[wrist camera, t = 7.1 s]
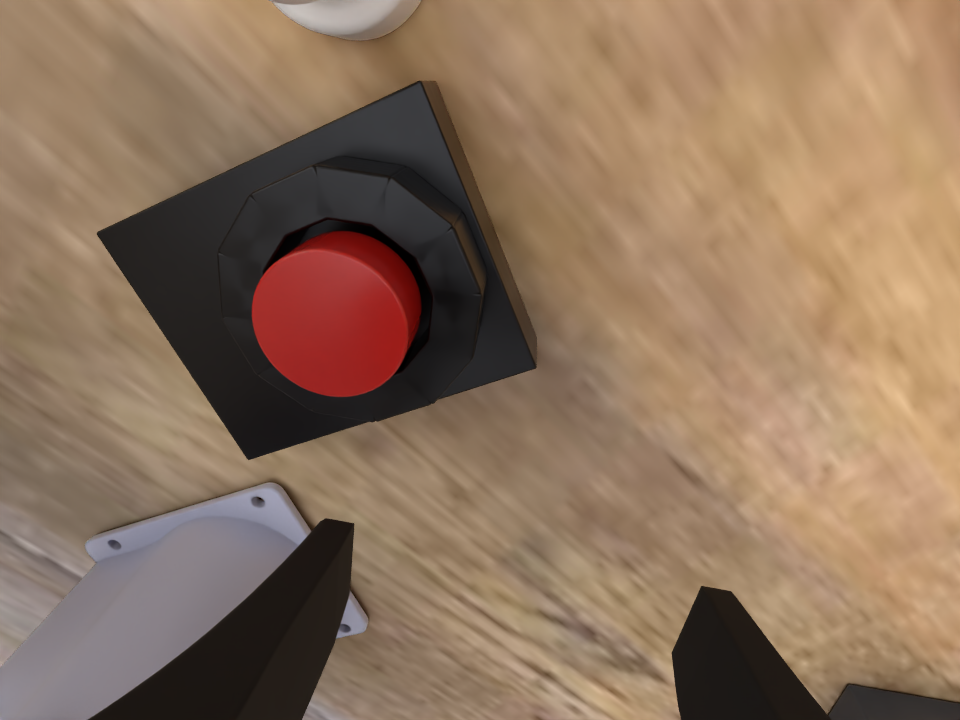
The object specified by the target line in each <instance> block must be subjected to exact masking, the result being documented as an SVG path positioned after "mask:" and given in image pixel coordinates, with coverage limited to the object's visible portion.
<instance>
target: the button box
mask: <svg viewBox="0 0 960 720" xmlns="http://www.w3.org/2000/svg"><path fill="white" fill-rule="evenodd" d="M333 231H350V232H356V233H361V234H364V235H367V236H370V237H373V238H375V239H377V240H379V241H381V242H382V243H384V244H385V245H387V246H388V247H390V248H391V249H392V250H393V251H394V252H396V253H397V254H398V255H399V256H400V257H401V258H402V259H403V261H404V262H405V263H406V264H407V266H408V267H409V269H410V270H411V272H412V274H413V276H414V278H415V280H416V282H417V285H418V288H419V292H420V296H421V304H422V312H421V320H420V324H419V327H418V331H417V333H416V335H415V337H414V339H413V341H412V343H411V345H410V347H409V349H408V351H407V353H406V355H405V357H404V359H403V361H402V363H401V365H400V367H399V368H398V370H397V371H396V373H395V374H394V375H393V376H392V377H391V378H390V379H389V380H388V381H387V382H385V383H384V384H383V385H381V386H380V387H378V388H376V389H374V390H372V391H369V392H367V393H364V394H360V395H356V396H349V397H333V396H326V395H322V394H317V393H314V392H312V391H309V390H307V389H304V388H302V387H300V386H298V385H297V384H295V383H293V382H292V381H290V380H289V379H288V378H286V377H285V376H284V375H282V374H281V373H280V372H279V371H278V370H277V369H276V368H275V367H274V366H273V365H272V363H271V362H270V361H269V360H268V358H267V357H266V355H265V354H264V352H263V351H262V349H261V347H260V345H259V343H258V340H257V338H256V335H255V332H254V327H253V322H252V302H253V296H254V293H255V290H256V287H257V285H258V283H259V281H260V279H261V277H262V276H263V274H264V273H265V272H266V270H267V269H268V268H269V267H270V266H271V265H272V264H273V263H275V262H276V261H278V260H279V259H280V258H282V257H283V256H285V255H286V254H288V253H289V252H291V251H292V250H294V249H295V248H297V247H298V246H300V245H301V244H303V243H304V242H306V241H307V240H309V239H311V238H313V237H315V236H317V235H320V234H323V233H327V232H333ZM97 235H98V237H99V238H100V240H101V241H102V243H103V244H104V246H105V247H106V249H107V250H108V252H109V253H110V255H111V256H112V258H113V259H114V261H115V262H116V264H117V265H118V267H119V268H120V270H121V271H122V273H123V274H124V276H125V277H126V279H127V280H128V282H129V283H130V285H131V286H132V288H133V289H134V291H135V292H136V294H137V295H138V297H139V298H140V299H141V301H142V302H143V304H144V305H145V307H146V308H147V310H148V311H149V313H150V314H151V316H152V317H153V319H154V320H155V322H156V323H157V325H158V326H159V328H160V329H161V331H162V332H163V334H164V335H165V337H166V338H167V340H168V341H169V343H170V344H171V346H172V347H173V349H174V350H175V352H176V353H177V355H178V356H179V358H180V359H181V361H182V362H183V364H184V365H185V367H186V368H187V370H188V371H189V373H190V374H191V376H192V377H193V379H194V380H195V382H196V383H197V385H198V386H199V388H200V389H201V391H202V392H203V394H204V395H205V397H206V398H207V400H208V401H209V403H210V404H211V406H212V407H213V409H214V410H215V412H216V413H217V414H218V416H219V417H220V419H221V420H222V422H223V423H224V425H225V426H226V428H227V429H228V431H229V432H230V434H231V435H232V437H233V438H234V440H235V441H236V443H237V444H238V446H239V447H240V449H241V450H242V452H243V453H244V455H245V456H246V458H247V459H248V460H250V459H253V458H257V457H260V456H263V455H266V454H269V453H272V452H275V451H278V450H282V449H285V448H288V447H291V446H294V445H297V444H300V443H304V442H307V441H310V440H313V439H316V438H319V437H322V436H325V435H329V434H332V433H335V432H338V431H341V430H344V429H347V428H351V427H354V426H357V425H360V424H363V423H366V422H375V421H381V420H384V419H387V418H390V417H393V416H396V415H399V414H403V413H406V412H409V411H412V410H415V409H418V408H422V407H425V406H428V405H430V404H433V403H435V402H436V401H437V400H438V399H441V398H445V397H448V396H451V395H454V394H457V393H460V392H463V391H467V390H470V389H473V388H476V387H479V386H482V385H485V384H488V383H492V382H495V381H498V380H501V379H504V378H507V377H510V376H514V375H517V374H520V373H523V372H526V371H529V370H532V369H535V368H536V367H537V337H536V334H535V332H534V329H533V327H532V324H531V321H530V319H529V316H528V314H527V311H526V309H525V306H524V304H523V301H522V299H521V296H520V294H519V291H518V288H517V286H516V283H515V281H514V278H513V276H512V273H511V271H510V268H509V266H508V263H507V261H506V258H505V255H504V253H503V250H502V248H501V245H500V243H499V240H498V238H497V235H496V233H495V230H494V228H493V225H492V222H491V220H490V217H489V215H488V212H487V210H486V207H485V205H484V202H483V200H482V197H481V195H480V192H479V189H478V187H477V184H476V182H475V179H474V177H473V174H472V172H471V169H470V167H469V164H468V162H467V159H466V156H465V154H464V151H463V149H462V146H461V144H460V141H459V139H458V136H457V134H456V131H455V129H454V126H453V123H452V121H451V118H450V116H449V113H448V111H447V108H446V106H445V103H444V101H443V98H442V96H441V93H440V90H439V88H438V85H437V83H436V82H435V81H417V82H415V83H413V84H411V85H409V86H407V87H405V88H402V89H400V90H398V91H396V92H394V93H392V94H390V95H388V96H385V97H383V98H381V99H379V100H377V101H375V102H373V103H371V104H368V105H366V106H364V107H362V108H360V109H358V110H356V111H353V112H351V113H349V114H347V115H345V116H343V117H341V118H339V119H336V120H334V121H332V122H330V123H328V124H326V125H324V126H322V127H319V128H317V129H315V130H313V131H311V132H309V133H307V134H305V135H302V136H300V137H298V138H296V139H294V140H292V141H290V142H288V143H285V144H283V145H281V146H279V147H277V148H275V149H273V150H271V151H268V152H266V153H264V154H262V155H260V156H258V157H256V158H254V159H251V160H249V161H247V162H245V163H243V164H241V165H239V166H236V167H234V168H232V169H230V170H228V171H226V172H224V173H222V174H219V175H217V176H215V177H213V178H211V179H209V180H207V181H205V182H202V183H200V184H198V185H196V186H194V187H192V188H190V189H188V190H185V191H183V192H181V193H179V194H177V195H175V196H173V197H171V198H168V199H166V200H164V201H162V202H160V203H158V204H156V205H154V206H151V207H149V208H147V209H145V210H143V211H141V212H139V213H136V214H134V215H132V216H130V217H128V218H126V219H124V220H122V221H119V222H117V223H115V224H113V225H111V226H109V227H107V228H105V229H102V230H100V231H98V232H97Z"/></svg>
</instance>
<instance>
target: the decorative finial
mask: <svg viewBox="0 0 960 720" xmlns="http://www.w3.org/2000/svg"><path fill="white" fill-rule="evenodd" d="M269 1H272V3H273V4H274V5H275V6H276V7H277V8H278V9H279V10H280V11H281V12H282V13H284V14H285V15H286V16H287V17H289V18H290V19H291V20H293V21H294V22H296V23H297V24H299V25H301V26H303V27H305V28H307V29H309V30H312V31H315V32H317V33H321V34H325V35H330V36H334V37H338V38H342V39H347V40H356V41H363V40H371V39H376V38H379V37H382V36H384V35H387V34H389V33H391V32H392V31H394V30H395V29H397V28H398V27H400V26H401V25H402V24H403V23H404V22H406V21H407V19H408V18H409V17H410V16H411V15H412V14H413V13H414V11H415V10H416V8H417V7H418V5H419V4H420V2H421V0H269Z"/></svg>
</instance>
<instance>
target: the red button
mask: <svg viewBox="0 0 960 720" xmlns="http://www.w3.org/2000/svg"><path fill="white" fill-rule="evenodd" d="M421 312H422V304H421V296H420V292H419V288H418V285H417V282H416V280H415V278H414V276H413V274H412V272H411V270H410V269H409V267H408V266H407V264H406V263H405V262H404V261H403V259H402V258H401V257H400V256H399V255H398V254H397V253H396V252H394V251H393V250H392V249H391V248H390V247H388V246H387V245H385V244H384V243H382V242H381V241H379V240H377V239H375V238H373V237H370V236H367V235H364V234H361V233H356V232H350V231H333V232H327V233H323V234H320V235H317V236H315V237H313V238H311V239H309V240H307V241H306V242H304V243H303V244H301V245H300V246H298V247H297V248H295V249H294V250H292V251H291V252H289V253H288V254H286V255H285V256H283V257H282V258H280V259H279V260H278V261H276V262H275V263H273V264H272V265H271V266H270V267H269V268H268V269H267V270H266V272H265V273H264V274H263V276H262V277H261V279H260V281H259V283H258V285H257V287H256V290H255V293H254V296H253V302H252V322H253V327H254V332H255V335H256V338H257V340H258V343H259V345H260V347H261V349H262V351H263V352H264V354H265V355H266V357H267V358H268V360H269V361H270V362H271V363H272V365H273V366H274V367H275V368H276V369H277V370H278V371H279V372H280V373H281V374H282V375H284V376H285V377H286V378H288V379H289V380H290V381H292V382H293V383H295V384H297V385H298V386H300V387H302V388H304V389H307V390H309V391H312V392H314V393H317V394H322V395H326V396H333V397H349V396H356V395H360V394H364V393H367V392H369V391H372V390H374V389H376V388H378V387H380V386H381V385H383V384H384V383H385V382H387V381H388V380H389V379H390V378H391V377H392V376H393V375H394V374H395V373H396V371H397V370H398V368H399V367H400V365H401V363H402V361H403V359H404V357H405V355H406V353H407V351H408V349H409V347H410V345H411V343H412V341H413V339H414V337H415V335H416V333H417V331H418V327H419V324H420V320H421Z"/></svg>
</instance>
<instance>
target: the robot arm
mask: <svg viewBox="0 0 960 720" xmlns="http://www.w3.org/2000/svg"><path fill="white" fill-rule="evenodd" d="M257 497H260V498H262V499H263V500H264V501H262V500H259V499H258V498H257ZM353 537H354V523H349V522H343V521H338V520H332V519H327V518H325V519H324V520H322V521H320V522H319V523H318V525H317V526H316V527H315V528H314V529H313V530H312V531H311V530H310V528H309V527H308V525H307V524H306V522H305V521H304V519H303V518H302V516H301V515H300V513H299V512H298V510H297V509H296V507H295V506H294V504H293V503H292V501H291V499H290V498H289V496H288V495H287V493H286V492H285V490H284V489H283V488H282V487H281V486H280V485H278V484H276V483H272V482H270V483H264V484H261V485H258V486H254V487H251V488H248V489H245V490H241V491H238V492H235V493H231V494H228V495H225V496H222V497H218V498H215V499H212V500H208V501H205V502H202V503H199V504H195V505H192V506H189V507H186V508H182V509H179V510H176V511H172V512H169V513H166V514H163V515H159V516H156V517H153V518H149V519H146V520H143V521H140V522H136V523H133V524H130V525H126V526H123V527H120V528H117V529H113V530H110V531H107V532H103V533H100V534H97V535H94V536H92V537H91V538H90V539H89V540H88V541H87V542H86V544H85V549H86V551H87V553H88V554H89V555H90V556H91V557H92V559H93V560H94V561H95V562H96V564H95V565H94V566H93V567H92V568H91V570H90V571H89V572H88V573H87V574H86V575H85V576H84V577H83V578H82V579H81V580H80V581H79V583H78V584H77V585H76V586H75V587H74V588H73V589H72V590H71V591H70V592H69V593H68V594H67V595H66V597H65V598H64V599H63V600H62V601H61V602H60V603H59V604H58V605H57V606H56V607H55V608H54V610H53V611H52V612H51V613H50V614H49V615H48V616H47V617H46V618H45V619H44V620H43V621H42V623H41V624H40V625H39V626H38V627H37V628H36V629H35V630H34V631H33V632H32V633H31V634H30V635H29V637H28V638H27V639H26V640H25V641H24V642H23V643H22V644H21V645H20V646H19V647H18V648H17V650H16V651H15V652H14V653H13V654H12V655H11V656H10V657H9V658H8V659H7V660H6V661H5V663H4V664H3V665H2V666H1V667H0V720H302V718H303V716H304V713H305V711H306V709H307V707H308V704H309V702H310V700H311V697H312V695H313V693H314V690H315V688H316V686H317V683H318V681H319V679H320V676H321V674H322V672H323V669H324V667H325V664H326V662H327V660H328V657H329V655H330V653H331V650H332V648H333V646H334V643H335V640H336V638H341V637H346V636H350V635H355V634H359V633H362V632H364V631H365V630H366V629H367V625H368V621H369V620H368V617H367V615H366V614H365V612H364V611H363V609H362V608H361V606H360V605H359V603H358V602H357V600H356V599H355V597H354V596H353V594H352V592H351V591H350V582H351V567H352V552H353ZM672 660H673V669H674V678H675V686H676V693H677V701H678V707H679V712H680V716H681V720H831V719H830V717H829V716H828V715H827V714H826V713H825V711H824V710H823V709H822V708H821V706H820V705H819V704H818V703H817V702H816V700H815V699H814V698H813V697H812V695H811V694H810V693H809V692H808V690H807V689H806V688H805V687H804V685H803V684H802V683H801V682H800V680H799V679H798V678H797V677H796V675H795V674H794V673H793V671H792V670H791V669H790V668H789V666H788V665H787V664H786V662H785V661H784V660H783V659H782V657H781V656H780V655H779V653H778V652H777V651H776V649H775V648H774V647H773V645H772V644H771V643H770V641H769V640H768V639H767V638H766V636H765V635H764V634H763V632H762V631H761V630H760V628H759V627H758V626H757V624H756V623H755V622H754V620H753V619H752V618H751V616H750V615H749V614H748V612H747V611H746V610H745V608H744V607H743V606H742V604H741V603H740V602H739V601H738V599H737V598H736V597H735V595H734V594H733V593H732V592H731V591H727V590H721V589H716V588H710V587H704V586H701V588H700V590H699V593H698V595H697V597H696V599H695V602H694V604H693V606H692V608H691V611H690V613H689V615H688V617H687V620H686V622H685V624H684V626H683V629H682V631H681V633H680V635H679V638H678V640H677V642H676V644H675V647H674V649H673V651H672Z"/></svg>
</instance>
